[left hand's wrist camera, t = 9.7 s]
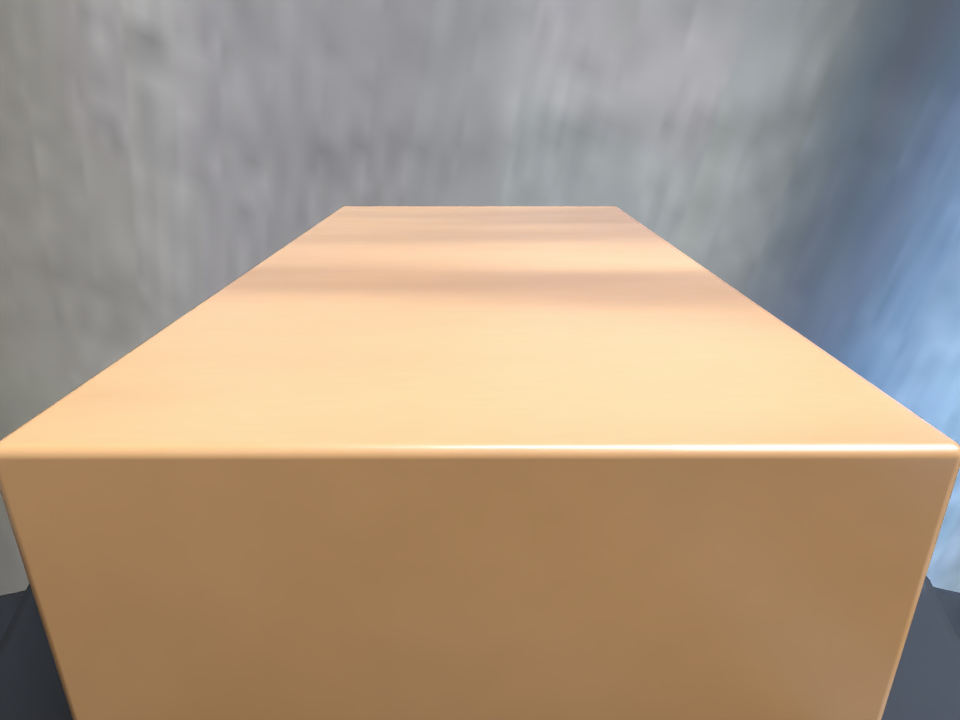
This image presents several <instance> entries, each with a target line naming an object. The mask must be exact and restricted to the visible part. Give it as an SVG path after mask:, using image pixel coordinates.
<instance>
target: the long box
mask: <svg viewBox="0 0 960 720" xmlns="http://www.w3.org/2000/svg"><path fill="white" fill-rule="evenodd" d="M959 467H960V446H959V444H958V443H956V442H955V441H953V440H952V439H951V438H949V437H948V436H946V435H945V434H943V433H942V432H940V431H939V430H938V429H936V428H935V427H933V426H932V425H930V424H929V423H928V422H926V421H925V420H923V419H922V418H920V417H919V416H917V415H916V414H915V413H913V412H912V411H910V410H909V409H907V408H906V407H904V406H903V405H902V404H900V403H899V402H897V401H896V400H894V399H893V398H891V397H890V396H889V395H887V394H886V393H884V392H883V391H881V390H880V389H878V388H877V387H876V386H874V385H873V384H871V383H870V382H868V381H867V380H866V379H864V378H863V377H861V376H860V375H858V374H857V373H855V372H854V371H853V370H851V369H850V368H848V367H847V366H845V365H844V364H842V363H841V362H840V361H838V360H837V359H835V358H834V357H832V356H831V355H829V354H828V353H827V352H825V351H824V350H822V349H821V348H819V347H818V346H816V345H815V344H814V343H812V342H811V341H809V340H808V339H806V338H805V337H804V336H802V335H801V334H799V333H798V332H796V331H795V330H793V329H792V328H791V327H789V326H788V325H786V324H785V323H783V322H782V321H780V320H779V319H778V318H776V317H775V316H773V315H772V314H770V313H769V312H767V311H766V310H765V309H763V308H762V307H760V306H759V305H757V304H756V303H754V302H753V301H752V300H750V299H749V298H747V297H746V296H744V295H743V294H742V293H740V292H739V291H737V290H736V289H734V288H733V287H731V286H730V285H729V284H727V283H726V282H724V281H723V280H721V279H720V278H718V277H717V276H716V275H714V274H713V273H711V272H710V271H708V270H707V269H705V268H704V267H703V266H701V265H700V264H698V263H697V262H695V261H694V260H692V259H691V258H690V257H688V256H687V255H685V254H684V253H682V252H681V251H680V250H678V249H677V248H675V247H674V246H672V245H671V244H669V243H668V242H667V241H665V240H664V239H662V238H661V237H659V236H658V235H656V234H655V233H654V232H652V231H651V230H649V229H648V228H646V227H645V226H643V225H642V224H641V223H639V222H638V221H636V220H635V219H633V218H632V217H631V216H629V215H628V214H626V213H625V212H623V211H622V210H620V209H619V208H618V207H615V206H366V207H342V208H340V209H339V210H337V211H336V212H334V213H333V214H331V215H330V216H328V217H327V218H326V219H324V220H323V221H321V222H320V223H318V224H317V225H315V226H314V227H312V228H311V229H309V230H308V231H306V232H305V233H304V234H302V235H301V236H299V237H298V238H296V239H295V240H293V241H292V242H290V243H289V244H287V245H286V246H284V247H283V248H282V249H280V250H279V251H277V252H276V253H274V254H273V255H271V256H270V257H268V258H267V259H265V260H264V261H262V262H261V263H260V264H258V265H257V266H255V267H254V268H252V269H251V270H249V271H248V272H246V273H245V274H243V275H242V276H240V277H239V278H238V279H236V280H235V281H233V282H232V283H230V284H229V285H227V286H226V287H224V288H223V289H221V290H220V291H218V292H217V293H216V294H214V295H213V296H211V297H210V298H208V299H207V300H205V301H204V302H202V303H201V304H199V305H198V306H196V307H195V308H194V309H192V310H191V311H189V312H188V313H186V314H185V315H183V316H182V317H180V318H179V319H177V320H176V321H174V322H173V323H171V324H170V325H169V326H167V327H166V328H164V329H163V330H161V331H160V332H158V333H157V334H155V335H154V336H152V337H151V338H149V339H148V340H147V341H145V342H144V343H142V344H141V345H139V346H138V347H136V348H135V349H133V350H132V351H130V352H129V353H127V354H126V355H125V356H123V357H122V358H120V359H119V360H117V361H116V362H114V363H113V364H111V365H110V366H108V367H107V368H105V369H104V370H103V371H101V372H100V373H98V374H97V375H95V376H94V377H92V378H91V379H89V380H88V381H86V382H85V383H83V384H82V385H81V386H79V387H78V388H76V389H75V390H73V391H72V392H70V393H69V394H67V395H66V396H64V397H63V398H61V399H60V400H59V401H57V402H56V403H54V404H53V405H51V406H50V407H48V408H47V409H45V410H44V411H42V412H41V413H39V414H38V415H37V416H35V417H34V418H32V419H31V420H29V421H28V422H26V423H25V424H23V425H22V426H20V427H19V428H17V429H16V430H15V431H13V432H12V433H10V434H9V435H7V436H6V437H4V438H3V439H1V440H0V492H1V495H2V498H3V501H4V504H5V507H6V511H7V514H8V517H9V520H10V523H11V526H12V529H13V533H14V536H15V539H16V542H17V545H18V548H19V551H20V555H21V558H22V561H23V564H24V567H25V570H26V573H27V577H28V580H29V583H30V586H31V589H32V592H33V595H34V599H35V602H36V605H37V608H38V611H39V614H40V617H41V621H42V624H43V627H44V630H45V633H46V636H47V639H48V643H49V646H50V649H51V652H52V655H53V658H54V661H55V665H56V668H57V671H58V674H59V677H60V680H61V683H62V687H63V690H64V693H65V696H66V699H67V702H68V705H69V709H70V712H71V715H72V718H73V720H881V719H882V716H883V712H884V709H885V706H886V703H887V699H888V696H889V693H890V690H891V687H892V683H893V680H894V677H895V674H896V670H897V667H898V664H899V661H900V658H901V654H902V651H903V648H904V645H905V641H906V638H907V635H908V632H909V629H910V625H911V622H912V619H913V616H914V612H915V609H916V606H917V603H918V599H919V596H920V593H921V590H922V587H923V583H924V580H925V577H926V574H927V570H928V567H929V564H930V561H931V558H932V554H933V551H934V548H935V545H936V541H937V538H938V535H939V532H940V529H941V525H942V522H943V519H944V516H945V512H946V509H947V506H948V503H949V500H950V496H951V493H952V490H953V487H954V483H955V480H956V477H957V474H958V471H959Z"/></svg>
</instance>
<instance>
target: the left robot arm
mask: <svg viewBox="0 0 960 720" xmlns="http://www.w3.org/2000/svg"><path fill="white" fill-rule="evenodd" d="M0 720H73V718H72V715H71V712H70V709H69V705H68V702H67V699H66V696H65V693H64V690H63V687H62V683H61V680H60V677H59V674H58V671H57V668H56V665H55V661H54V658H53V655H52V652H51V649H50V646H49V643H48V639H47V636H46V633H45V630H44V627H43V624H42V621H41V617H40V614H39V611H38V608H37V605H36V602H35V599H34V595H33V592H32V589H31V586H30V583H29V585H28V587H27V589H26V590H24V591H21V592H17V593H12V594H7V595H2V596H0ZM881 720H960V593H958V592H953V591H948V590H943V589H939V588H936V587H933V586H932V584H931V582H930V580H929V579H928V578H927V576H926V577H925V580H924V583H923V587H922V590H921V593H920V596H919V599H918V603H917V606H916V609H915V612H914V616H913V619H912V622H911V625H910V629H909V632H908V635H907V638H906V641H905V645H904V648H903V651H902V654H901V658H900V661H899V664H898V667H897V670H896V674H895V677H894V680H893V683H892V687H891V690H890V693H889V696H888V699H887V703H886V706H885V709H884V712H883V716H882V719H881Z"/></svg>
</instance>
